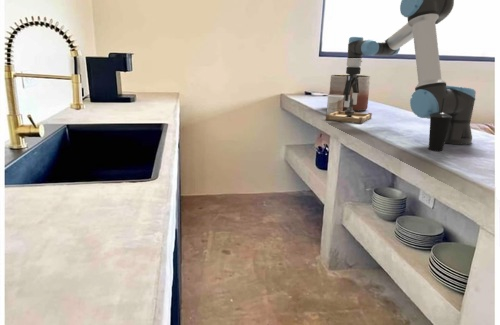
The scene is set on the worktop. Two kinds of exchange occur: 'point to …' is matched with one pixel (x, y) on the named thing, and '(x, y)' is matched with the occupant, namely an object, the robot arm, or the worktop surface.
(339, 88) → the planter
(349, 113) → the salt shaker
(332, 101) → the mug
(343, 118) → the golden square tray
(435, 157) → the worktop surface
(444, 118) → the drinking cup
